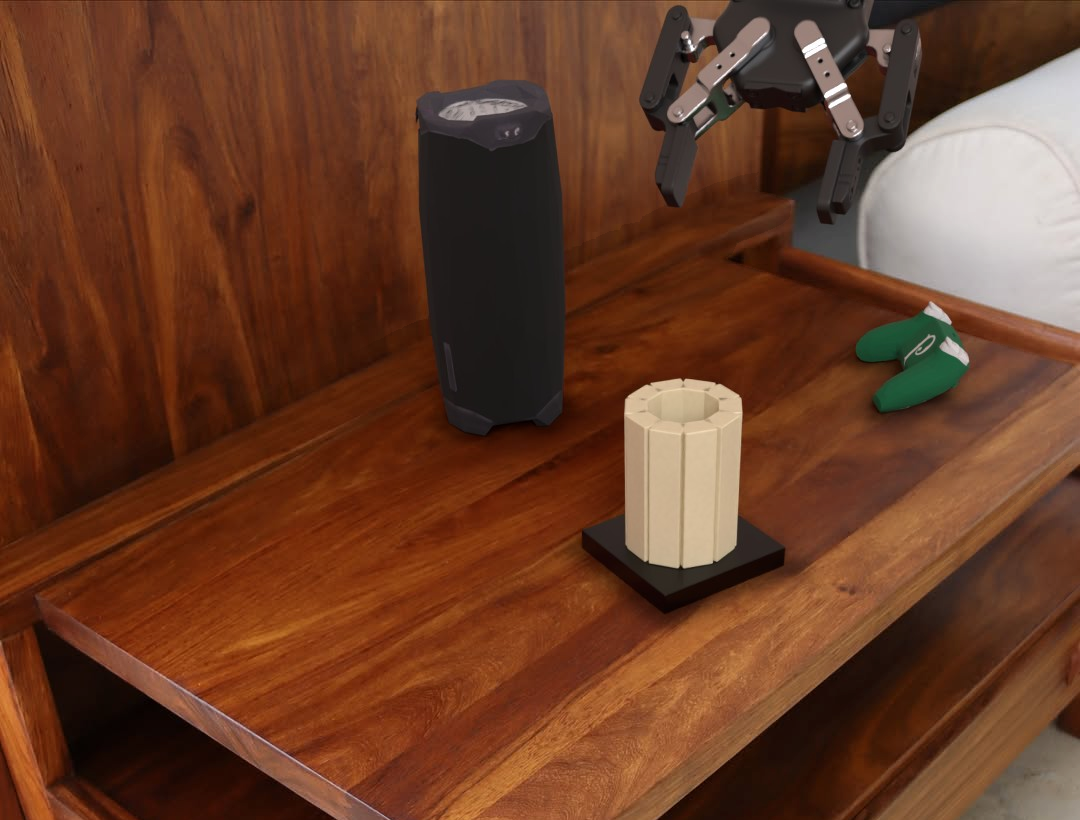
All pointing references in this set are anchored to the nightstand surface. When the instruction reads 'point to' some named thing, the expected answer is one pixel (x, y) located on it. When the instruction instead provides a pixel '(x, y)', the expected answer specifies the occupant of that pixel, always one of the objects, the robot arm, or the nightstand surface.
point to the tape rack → (681, 584)
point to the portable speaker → (493, 252)
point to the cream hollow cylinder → (682, 472)
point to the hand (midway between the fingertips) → (746, 209)
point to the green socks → (916, 358)
